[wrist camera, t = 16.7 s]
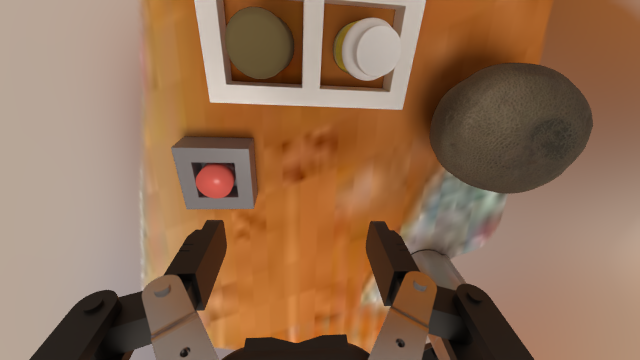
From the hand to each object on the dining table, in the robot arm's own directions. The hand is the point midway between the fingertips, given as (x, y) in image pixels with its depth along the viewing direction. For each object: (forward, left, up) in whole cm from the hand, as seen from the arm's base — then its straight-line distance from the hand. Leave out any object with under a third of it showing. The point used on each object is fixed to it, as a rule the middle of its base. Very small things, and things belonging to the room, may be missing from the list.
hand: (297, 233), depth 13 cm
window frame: (-2, -9, -22) cm, 24 cm away
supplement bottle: (-7, -9, -23) cm, 25 cm away
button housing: (+10, +7, -22) cm, 26 cm away
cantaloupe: (-23, -2, -23) cm, 32 cm away
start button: (+10, +7, -20) cm, 24 cm away
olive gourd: (+3, -9, -23) cm, 24 cm away
